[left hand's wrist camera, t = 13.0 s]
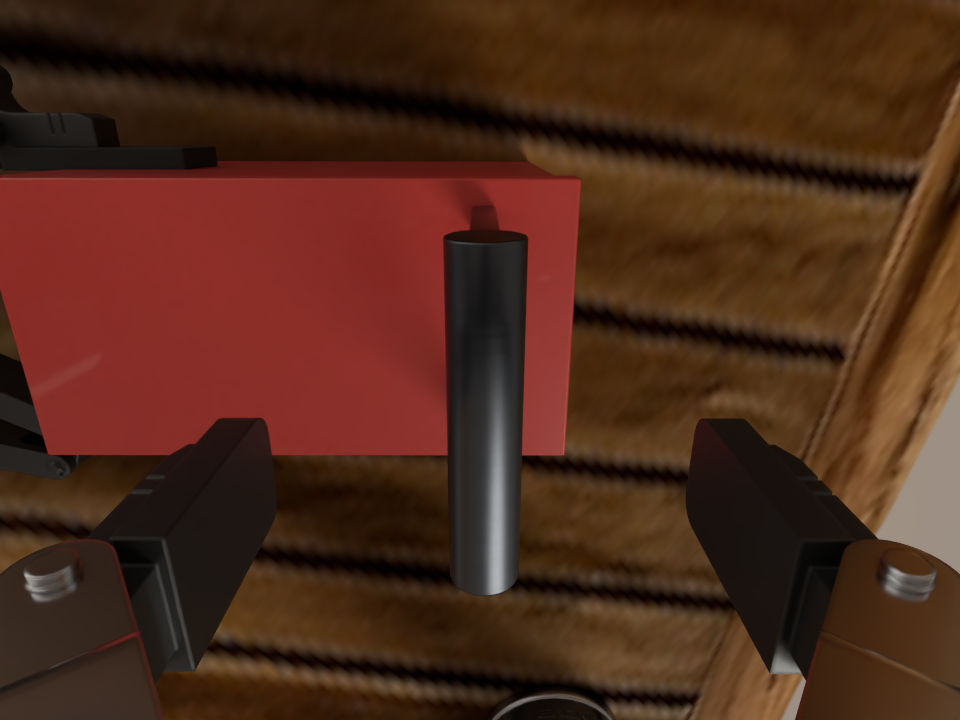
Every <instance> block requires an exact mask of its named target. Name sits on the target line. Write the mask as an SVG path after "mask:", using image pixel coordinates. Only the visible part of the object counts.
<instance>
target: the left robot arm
mask: <svg viewBox="0 0 960 720" xmlns="http://www.w3.org/2000/svg"><path fill="white" fill-rule="evenodd" d="M132 491H133V492H132V494H128V495H127V496H126V498H125V499H124V500H123V501H122V502H121V503H120V504H119V505H118V506H117V507H116V508H115V509H114V510H113V511H112V512H111V513H110V514H109V515H108V516H107V517H106V518H105V519H104V520H103V521H102V522H101V523H100V524H99V525H98V526H97V527H96V529H95V530H94V531H93V532H92V533H91V534H90V535H89V536H88V537H87V538H86V539H80V540H72V541H67V542H62V543H59V544H55V545H52V546H49V547H46V548H43V549H41V550H38V551H36V552H34V553H32V554H30V555H28V556H26V557H24V558H22V559H20V560H19V561H17V562H16V563H14V564H13V565H11V566H10V567H8V568H7V569H6V570H5V571H3V572H2V573H1V574H0V720H165V719H164V715H163V712H162V708H161V705H160V701H159V698H158V694H157V691H156V687H155V684H156V683H157V681H158V679H159V678H160V676H161V674H162V672H163V671H195V670H196V668H197V666H198V664H199V662H200V660H201V659H202V657H203V655H204V653H205V651H206V649H207V647H208V645H209V643H210V641H211V640H212V638H213V636H214V634H215V632H216V630H217V628H218V626H219V624H220V623H221V621H222V619H223V617H224V615H225V613H226V611H227V609H228V607H229V606H230V604H231V602H232V600H233V598H234V596H235V594H236V592H237V590H238V588H239V587H240V585H241V583H242V581H243V579H244V577H245V575H246V573H247V571H248V570H249V568H250V566H251V564H252V562H253V560H254V558H255V556H256V554H257V553H258V551H259V549H260V547H261V545H262V543H263V541H264V539H265V537H266V535H267V534H268V532H269V530H270V528H271V526H272V524H273V521H274V518H275V514H276V508H277V487H276V480H275V473H274V466H273V459H272V452H271V445H270V438H269V432H268V427H267V424H266V422H265V420H264V419H263V418H219V419H218V420H216V422H215V423H214V424H213V425H212V426H211V427H210V428H209V429H208V430H207V431H206V433H205V434H204V435H203V436H202V437H201V438H200V439H199V440H198V441H197V442H196V443H195V444H188V445H186V446H184V447H183V448H181V449H179V450H177V451H176V452H174V453H172V454H170V455H169V456H167V457H165V458H163V459H162V460H161V461H160V462H159V463H158V464H157V465H156V467H155V468H154V469H153V470H152V471H151V472H150V473H149V474H148V475H147V478H146V479H143V480H142V481H141V482H140V483H139V484H138V485H137V486H136V487H135V488H134V489H133V490H132ZM686 509H687V515H688V519H689V522H690V525H691V527H692V529H693V531H694V532H695V534H696V536H697V538H698V540H699V542H700V544H701V546H702V547H703V549H704V551H705V553H706V555H707V557H708V559H709V561H710V562H711V564H712V566H713V568H714V570H715V572H716V574H717V575H718V577H719V579H720V581H721V583H722V585H723V587H724V589H725V590H726V592H727V594H728V596H729V598H730V600H731V602H732V604H733V605H734V607H735V609H736V611H737V613H738V615H739V617H740V618H741V620H742V622H743V624H744V626H745V628H746V630H747V632H748V633H749V635H750V637H751V639H752V641H753V643H754V645H755V647H756V648H757V650H758V652H759V654H760V656H761V658H762V660H763V661H764V663H765V665H766V667H767V669H768V671H769V673H770V674H802V675H803V676H804V678H805V680H806V684H805V687H804V691H803V694H802V698H801V701H800V705H799V708H798V712H797V715H796V719H795V720H960V574H959V573H958V572H957V571H955V570H954V569H953V568H951V567H950V566H949V565H947V564H946V563H944V562H943V561H941V560H940V559H938V558H936V557H934V556H932V555H930V554H928V553H926V552H924V551H922V550H919V549H917V548H914V547H911V546H908V545H905V544H901V543H897V542H893V541H888V540H879V539H878V538H877V537H876V536H875V535H874V534H873V533H872V532H871V531H870V530H869V529H868V528H867V527H866V526H865V525H864V524H863V523H862V522H861V521H860V520H859V519H858V518H857V517H856V516H855V515H854V514H853V513H852V512H851V511H850V510H849V509H848V508H847V507H846V505H845V504H844V503H843V502H842V501H841V500H840V499H839V498H838V497H837V496H836V495H832V491H831V490H830V489H829V488H828V487H827V486H826V485H825V484H824V483H823V482H822V481H818V477H817V476H816V475H815V474H814V473H813V472H812V471H811V470H810V469H809V468H808V467H807V466H806V465H805V464H804V462H803V461H802V460H800V459H799V458H797V457H795V456H793V455H792V454H790V453H788V452H786V451H785V450H783V449H781V448H779V447H778V446H776V445H768V444H767V442H766V441H765V440H764V439H763V438H762V437H761V436H760V435H759V434H758V433H757V432H756V430H755V429H754V428H753V427H752V426H751V425H750V424H749V423H748V422H747V421H746V420H745V419H700V420H699V422H698V423H697V426H696V429H695V434H694V441H693V448H692V454H691V461H690V468H689V475H688V482H687V489H686ZM487 720H615V718H614V716H613V714H612V712H611V711H610V710H609V708H608V707H607V706H606V705H605V704H604V703H602V702H601V701H600V700H598V699H597V698H595V697H594V696H592V695H590V694H588V693H585V692H583V691H579V690H576V689H572V688H566V687H540V688H534V689H530V690H526V691H523V692H520V693H518V694H515V695H513V696H511V697H509V698H508V699H506V700H505V701H503V702H502V703H501V704H499V705H498V706H497V707H496V708H495V709H494V710H493V711H492V713H491V714H490V715H489V717H488V719H487Z"/></svg>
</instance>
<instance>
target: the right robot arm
mask: <svg viewBox="0 0 960 720" xmlns="http://www.w3.org/2000/svg"><path fill="white" fill-rule="evenodd" d="M12 85H13V82H12V79H11V76H10V74H9V73H8V71H7V70H6V69H5V68H3V67H2V66H1V65H0V169H1V168H3V170H188V169H196V168H205V167H214V166H218V164H217V157H216V150H215V147H120V144H119V139H118V134H117V129H116V124H115V120H114V119H111V118H109V117H106V116H104V115H101V114H89V113H31V112H28V111H27V110H25V109H23V108H22V107H21V106H20V105H19V104H18V103H17V101H16V100H15V98H14V97H13V95H12V93H11V91H12ZM92 456H93V455H49V454H48V452H47V448H46V445H45V441H44V438H43V435H42V431H41V428H40V424H39V421H38V417H37V414H36V411H35V407H34V404H33V400H32V397H31V393H30V390H29V387H28V383H27V380H26V376H25V373H24V369H23V366H22V363H21V362H19V361H17V360H14V359H12V358H10V357H7V356H5V355H3V354H0V469H5V470H10V471H15V472H20V473H25V474H30V475H35V476H40V477H45V478H50V479H56V480H61V479H64V478H66V477H67V476H68V475H70V474H71V473H72V472H73V471H75V470H76V469H77V468H78V467H79V466H81V465H82V464H83V463H84V462H85V461H87V460H88V459H89V458H90V457H92Z"/></svg>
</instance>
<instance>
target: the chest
mask: <svg viewBox="0 0 960 720" xmlns="http://www.w3.org/2000/svg"><path fill="white" fill-rule="evenodd" d="M217 164H218V166H214V167H205V168H196V169H188V170H52V171H39V172H27V173H15V174H3V175H228V176H553V175H552V174H550V173H548V172H546V171H544V170H542V169H541V168H539V167H537V166H535V165H533V164H532V163H530V162H528V161H217Z"/></svg>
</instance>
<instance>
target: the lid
mask: <svg viewBox="0 0 960 720" xmlns="http://www.w3.org/2000/svg"><path fill="white" fill-rule="evenodd" d="M580 189H581V180H580V178H577V177H575V176H228V175H0V291H1V294H2V298H3V301H4V304H5V308H6V311H7V315H8V318H9V322H10V325H11V328H12V332H13V335H14V339H15V342H16V346H17V349H18V352H19V356H20V359H21V363H22V366H23V369H24V373H25V376H26V380H27V383H28V387H29V390H30V393H31V397H32V400H33V404H34V407H35V411H36V414H37V417H38V421H39V424H40V428H41V431H42V435H43V438H44V441H45V445H46V448H47V452H48V454H49V455H170V454H172V453H174V452H176V451H177V450H179V449H181V448H183V447H184V446H186V445H188V444H195V443H196V442H197V441H198V440H199V439H200V438H201V437H202V436H203V435H204V434H205V433H206V431H207V430H208V429H209V428H210V427H211V426H212V425H213V424H214V423H215V422H216V420H218V419H219V418H263V419H264V420H265V422H266V424H267V427H268V432H269V438H270V445H271V452H272V455H448V500H449V548H450V575H451V578H452V580H453V582H454V583H455V585H456V586H457V587H459V588H460V589H461V590H463V591H465V592H467V593H470V594H473V595H478V596H491V595H496V594H499V593H502V592H504V591H506V590H508V589H509V588H510V587H511V586H512V585H513V584H514V583H515V581H516V580H517V577H518V572H519V538H520V504H521V471H522V455H564V454H565V445H566V428H567V411H568V394H569V377H570V360H571V343H572V326H573V309H574V292H575V274H576V257H577V240H578V223H579V206H580Z"/></svg>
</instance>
